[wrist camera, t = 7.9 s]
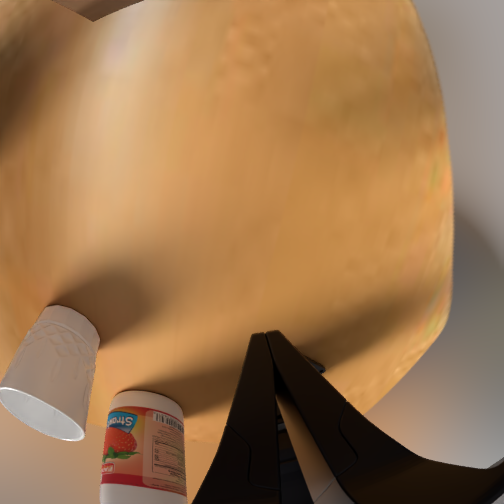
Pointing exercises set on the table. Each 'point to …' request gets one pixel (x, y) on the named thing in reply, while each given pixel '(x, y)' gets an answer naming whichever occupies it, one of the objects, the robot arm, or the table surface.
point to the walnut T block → (95, 7)
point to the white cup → (53, 374)
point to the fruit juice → (143, 451)
